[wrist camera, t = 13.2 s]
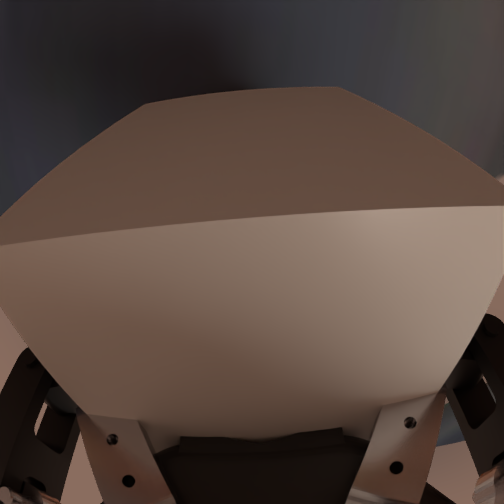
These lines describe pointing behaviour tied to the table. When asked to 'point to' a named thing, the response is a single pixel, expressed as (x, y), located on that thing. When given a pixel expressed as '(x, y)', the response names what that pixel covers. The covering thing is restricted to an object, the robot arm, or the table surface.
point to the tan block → (253, 264)
